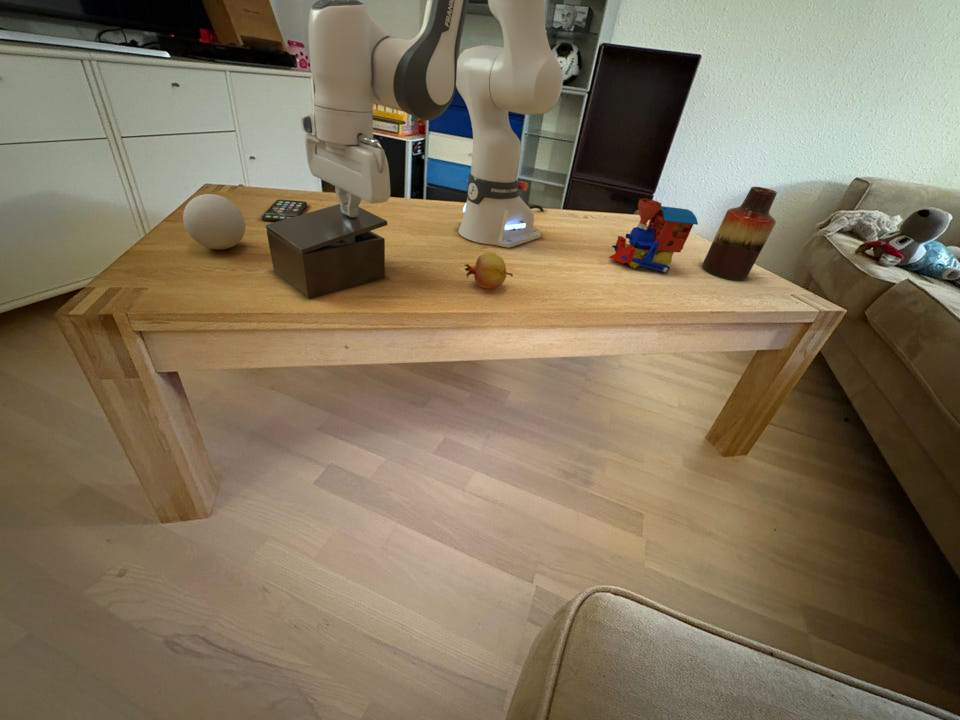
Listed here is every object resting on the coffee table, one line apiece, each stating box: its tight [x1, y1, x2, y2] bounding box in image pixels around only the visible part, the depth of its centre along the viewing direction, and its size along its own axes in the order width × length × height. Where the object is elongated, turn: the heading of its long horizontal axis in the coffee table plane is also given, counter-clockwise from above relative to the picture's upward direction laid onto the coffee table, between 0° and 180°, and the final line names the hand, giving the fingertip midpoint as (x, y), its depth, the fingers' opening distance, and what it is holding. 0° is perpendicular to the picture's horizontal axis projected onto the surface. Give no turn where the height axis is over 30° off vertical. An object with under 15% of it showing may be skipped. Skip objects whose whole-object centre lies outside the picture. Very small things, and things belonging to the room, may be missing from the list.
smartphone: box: [261, 199, 308, 222], centre depth 102 cm, size 7×1×15 cm
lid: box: [265, 203, 388, 254], centre depth 73 cm, size 16×13×1 cm
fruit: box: [463, 252, 514, 290], centre depth 80 cm, size 7×7×10 cm
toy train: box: [608, 198, 699, 274], centre depth 99 cm, size 10×16×15 cm, turn 93°
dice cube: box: [326, 237, 355, 248], centre depth 78 cm, size 5×5×5 cm
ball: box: [182, 193, 246, 250], centre depth 79 cm, size 10×10×10 cm
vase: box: [701, 186, 778, 282], centre depth 101 cm, size 11×11×20 cm
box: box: [266, 229, 386, 299], centre depth 76 cm, size 16×13×8 cm
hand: (349, 214), depth 75 cm, fingers closed, pressing on lid
